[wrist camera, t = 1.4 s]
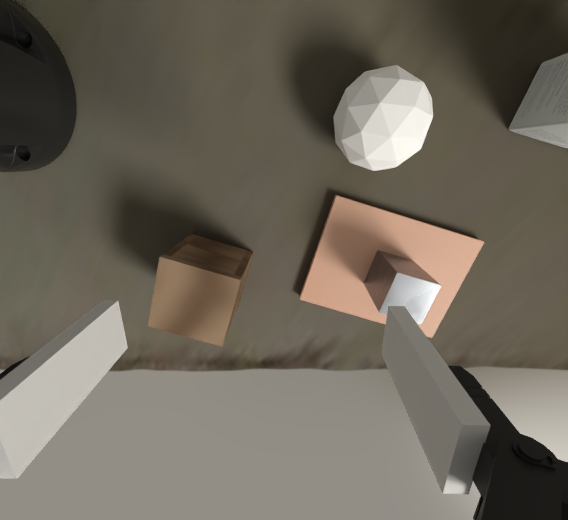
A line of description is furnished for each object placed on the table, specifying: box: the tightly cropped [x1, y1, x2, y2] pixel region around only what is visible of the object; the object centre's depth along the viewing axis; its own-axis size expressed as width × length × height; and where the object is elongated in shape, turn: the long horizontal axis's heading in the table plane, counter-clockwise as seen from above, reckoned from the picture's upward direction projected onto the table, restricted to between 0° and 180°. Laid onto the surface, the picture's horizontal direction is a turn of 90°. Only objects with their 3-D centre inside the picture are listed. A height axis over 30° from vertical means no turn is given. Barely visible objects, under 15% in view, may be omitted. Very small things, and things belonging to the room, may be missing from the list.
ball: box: [333, 65, 433, 171], centre depth 25 cm, size 8×8×8 cm
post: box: [364, 250, 441, 325], centre depth 29 cm, size 4×4×6 cm
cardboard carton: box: [148, 234, 253, 346], centre depth 30 cm, size 7×7×8 cm
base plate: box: [300, 195, 484, 338], centre depth 33 cm, size 16×12×1 cm
